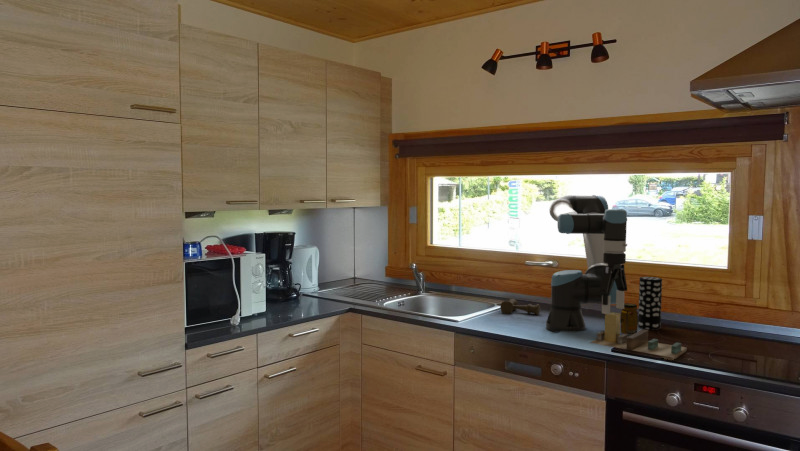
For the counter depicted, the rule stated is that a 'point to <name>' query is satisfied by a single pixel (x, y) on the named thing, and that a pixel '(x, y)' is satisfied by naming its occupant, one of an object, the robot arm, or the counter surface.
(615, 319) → the stop bar
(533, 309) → the kendama
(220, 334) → the counter surface
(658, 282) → the white-spotted black cylinder
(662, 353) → the lock plate
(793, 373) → the counter surface
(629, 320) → the condiment
